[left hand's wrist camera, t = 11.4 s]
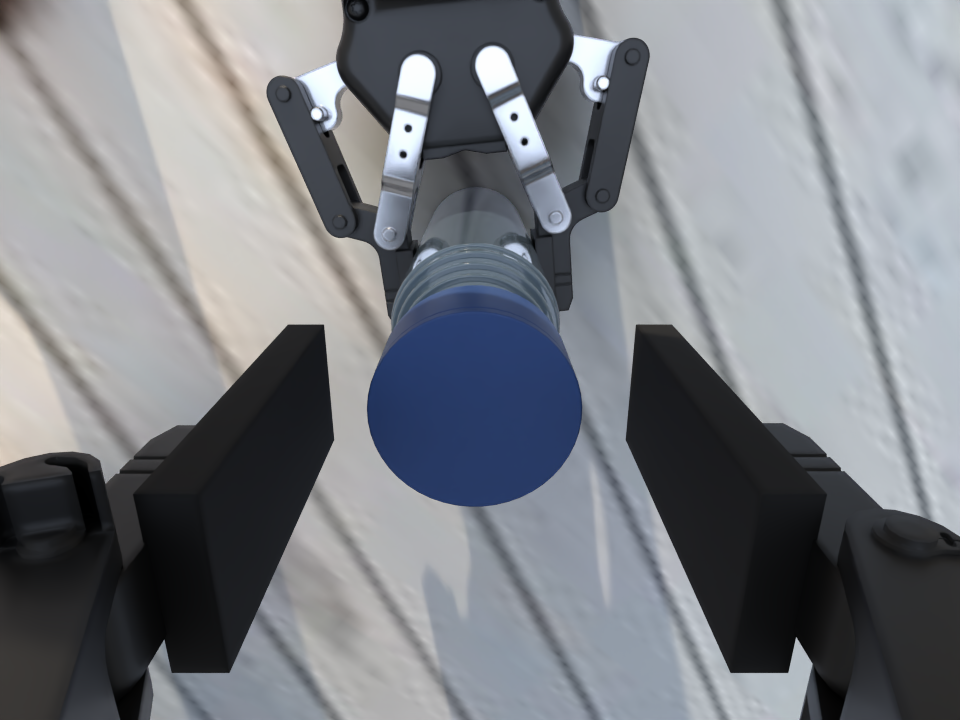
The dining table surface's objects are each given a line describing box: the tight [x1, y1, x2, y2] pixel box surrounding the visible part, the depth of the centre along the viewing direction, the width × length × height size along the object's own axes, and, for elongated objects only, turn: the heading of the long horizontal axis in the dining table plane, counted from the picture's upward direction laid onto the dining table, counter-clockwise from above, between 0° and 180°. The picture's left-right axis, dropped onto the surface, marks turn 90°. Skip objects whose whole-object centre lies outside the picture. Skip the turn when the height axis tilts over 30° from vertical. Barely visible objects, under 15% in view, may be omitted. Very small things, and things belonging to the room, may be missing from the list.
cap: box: [367, 285, 582, 507], centre depth 14 cm, size 4×4×2 cm
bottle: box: [391, 187, 560, 333], centre depth 23 cm, size 5×5×20 cm
